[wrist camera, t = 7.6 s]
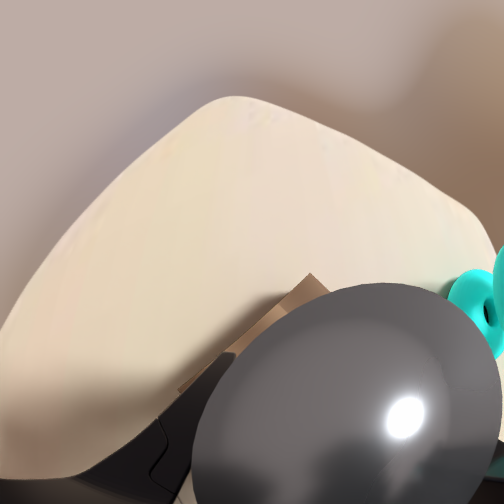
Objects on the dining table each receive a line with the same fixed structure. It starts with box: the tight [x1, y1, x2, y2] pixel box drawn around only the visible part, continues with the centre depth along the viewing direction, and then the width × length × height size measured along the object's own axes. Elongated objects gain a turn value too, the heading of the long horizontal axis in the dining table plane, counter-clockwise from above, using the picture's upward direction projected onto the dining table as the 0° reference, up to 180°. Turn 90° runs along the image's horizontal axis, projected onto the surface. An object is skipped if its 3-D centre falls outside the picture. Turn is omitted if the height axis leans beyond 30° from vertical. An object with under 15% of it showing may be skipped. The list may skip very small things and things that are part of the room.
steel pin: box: [191, 283, 502, 504], centre depth 8 cm, size 4×4×13 cm
